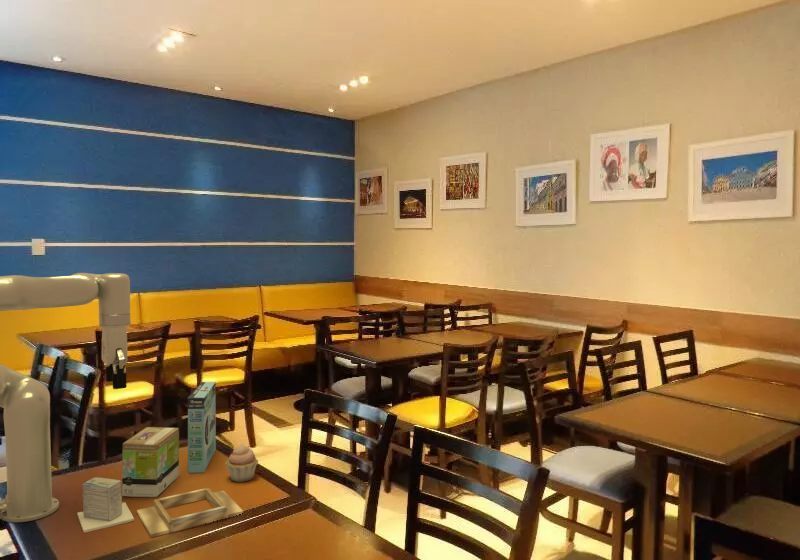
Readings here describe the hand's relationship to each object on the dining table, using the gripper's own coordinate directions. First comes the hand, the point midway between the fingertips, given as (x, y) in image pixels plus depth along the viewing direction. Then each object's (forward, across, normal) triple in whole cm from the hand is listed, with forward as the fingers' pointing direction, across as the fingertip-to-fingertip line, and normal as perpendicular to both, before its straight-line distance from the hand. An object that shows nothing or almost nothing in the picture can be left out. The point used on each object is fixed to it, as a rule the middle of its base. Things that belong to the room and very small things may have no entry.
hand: (116, 384), depth 160 cm
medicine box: (+30, +12, -6) cm, 33 cm away
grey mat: (+30, +12, -5) cm, 33 cm away
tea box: (+31, -2, +9) cm, 32 cm away
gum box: (+31, -13, +26) cm, 42 cm away
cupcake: (+31, +6, +32) cm, 45 cm away
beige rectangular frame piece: (+30, +21, +13) cm, 39 cm away
